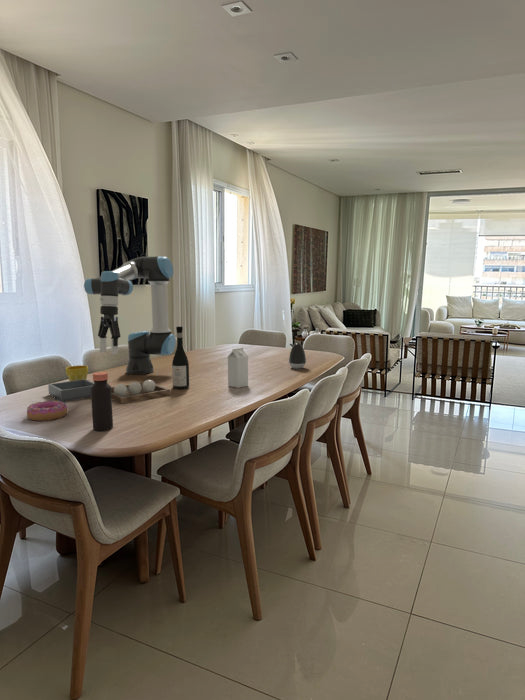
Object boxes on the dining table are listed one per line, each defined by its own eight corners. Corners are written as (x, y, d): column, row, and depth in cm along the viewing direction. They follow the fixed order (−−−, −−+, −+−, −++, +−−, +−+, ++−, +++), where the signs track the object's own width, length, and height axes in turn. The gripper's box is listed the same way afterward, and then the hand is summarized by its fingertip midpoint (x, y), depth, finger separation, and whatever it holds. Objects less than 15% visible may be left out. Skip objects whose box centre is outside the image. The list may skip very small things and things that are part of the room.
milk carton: (228, 386, 235) (227, 348, 232) (238, 383, 240) (237, 346, 237) (237, 388, 230) (237, 349, 227) (248, 385, 235) (248, 348, 232)
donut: (71, 418, 182) (70, 405, 181) (30, 424, 174) (29, 411, 173) (63, 409, 193) (63, 397, 193) (25, 415, 186) (24, 402, 185)
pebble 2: (138, 392, 222) (137, 379, 221) (144, 394, 217) (143, 382, 217) (126, 394, 218) (125, 381, 217) (132, 396, 214) (131, 383, 213)
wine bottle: (185, 389, 227) (184, 327, 223) (170, 389, 229) (168, 327, 224) (191, 386, 235) (190, 326, 231) (176, 385, 237) (174, 325, 232)
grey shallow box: (85, 389, 229) (85, 379, 228) (99, 395, 216) (99, 384, 215) (48, 394, 218) (48, 384, 217) (61, 401, 205) (60, 390, 204)
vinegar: (96, 425, 172) (93, 371, 169) (115, 425, 172) (112, 371, 169) (90, 431, 165) (87, 375, 162) (110, 431, 165) (107, 375, 162)
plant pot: (62, 387, 232) (61, 367, 231) (79, 383, 242) (78, 364, 240) (77, 389, 228) (75, 369, 226) (93, 385, 237) (92, 366, 235)
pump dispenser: (294, 365, 289) (294, 341, 287) (309, 367, 283) (309, 342, 281) (285, 368, 281) (285, 343, 279) (300, 370, 275) (300, 344, 273)
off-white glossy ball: (124, 394, 217) (123, 382, 216) (130, 397, 213) (129, 384, 212) (111, 396, 213) (111, 384, 213) (117, 399, 209) (116, 386, 208)
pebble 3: (151, 390, 227) (151, 377, 226) (158, 392, 222) (157, 379, 221) (140, 392, 223) (139, 379, 222) (146, 394, 218) (145, 381, 217)
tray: (147, 386, 234) (147, 381, 233) (170, 394, 217) (169, 389, 217) (100, 394, 218) (100, 389, 218) (121, 403, 202) (121, 398, 202)
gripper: (91, 306, 221) (90, 351, 222) (111, 304, 202) (111, 354, 202) (106, 307, 226) (106, 351, 226) (128, 305, 206) (127, 354, 207)
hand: (108, 352), depth 214 cm, fingers open, 13 cm apart
